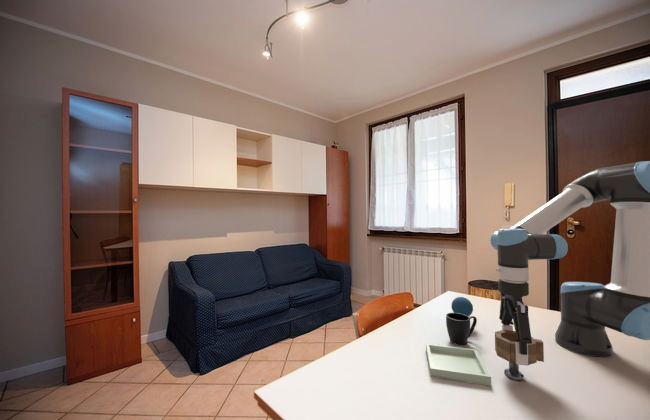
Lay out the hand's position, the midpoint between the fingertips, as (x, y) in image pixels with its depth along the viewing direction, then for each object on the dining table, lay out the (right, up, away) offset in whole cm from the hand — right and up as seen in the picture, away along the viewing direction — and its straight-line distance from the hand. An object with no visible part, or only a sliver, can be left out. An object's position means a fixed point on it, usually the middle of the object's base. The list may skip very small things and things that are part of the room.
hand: (514, 354), depth 81 cm
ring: (0, 0, 0) cm, 0 cm away
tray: (-15, -6, +5) cm, 17 cm away
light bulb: (+3, -7, +36) cm, 37 cm away
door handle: (0, -6, 0) cm, 6 cm away
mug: (-4, -7, +22) cm, 23 cm away
